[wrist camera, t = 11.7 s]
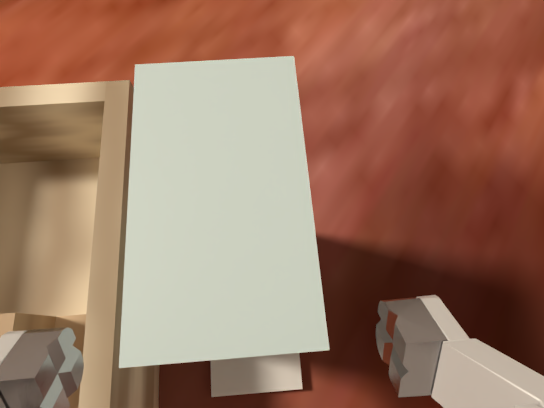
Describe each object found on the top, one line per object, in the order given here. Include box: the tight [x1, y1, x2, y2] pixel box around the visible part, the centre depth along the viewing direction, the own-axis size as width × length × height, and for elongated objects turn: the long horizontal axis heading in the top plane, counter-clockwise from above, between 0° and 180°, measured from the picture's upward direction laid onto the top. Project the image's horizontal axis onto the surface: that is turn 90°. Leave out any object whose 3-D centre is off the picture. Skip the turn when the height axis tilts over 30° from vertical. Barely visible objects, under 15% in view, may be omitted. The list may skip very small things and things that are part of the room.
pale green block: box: [119, 56, 330, 368], centre depth 15 cm, size 4×7×15 cm, turn 4°
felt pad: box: [211, 353, 303, 397], centre depth 23 cm, size 5×12×1 cm, turn 4°
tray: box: [0, 80, 159, 408], centre depth 19 cm, size 14×18×7 cm
